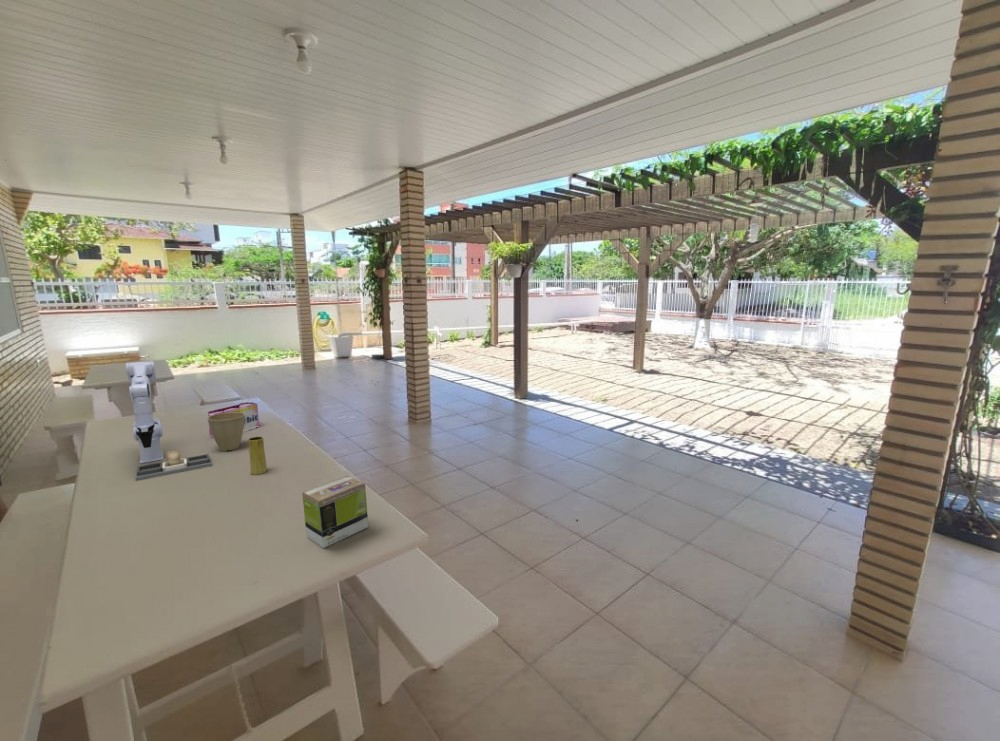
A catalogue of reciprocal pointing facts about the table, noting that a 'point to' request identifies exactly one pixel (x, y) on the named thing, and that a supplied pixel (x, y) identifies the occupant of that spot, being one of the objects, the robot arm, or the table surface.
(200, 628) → the table surface
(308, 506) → the tea box
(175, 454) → the beech pin
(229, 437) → the plant pot
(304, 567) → the table surface
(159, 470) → the gray compartment tray
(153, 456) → the robot arm
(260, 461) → the vase
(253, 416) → the gum box
